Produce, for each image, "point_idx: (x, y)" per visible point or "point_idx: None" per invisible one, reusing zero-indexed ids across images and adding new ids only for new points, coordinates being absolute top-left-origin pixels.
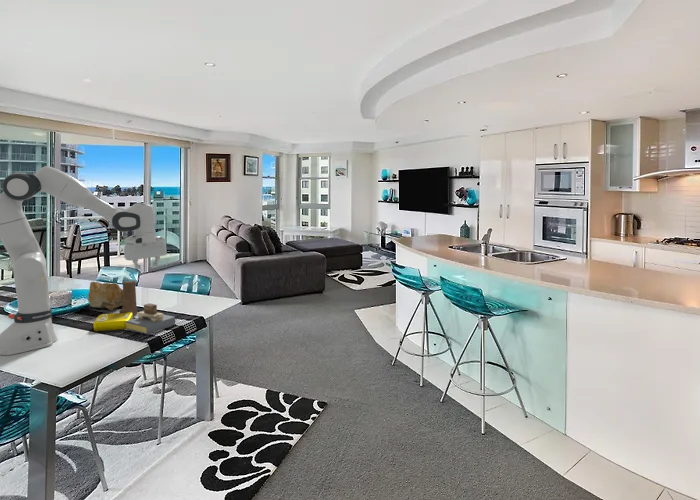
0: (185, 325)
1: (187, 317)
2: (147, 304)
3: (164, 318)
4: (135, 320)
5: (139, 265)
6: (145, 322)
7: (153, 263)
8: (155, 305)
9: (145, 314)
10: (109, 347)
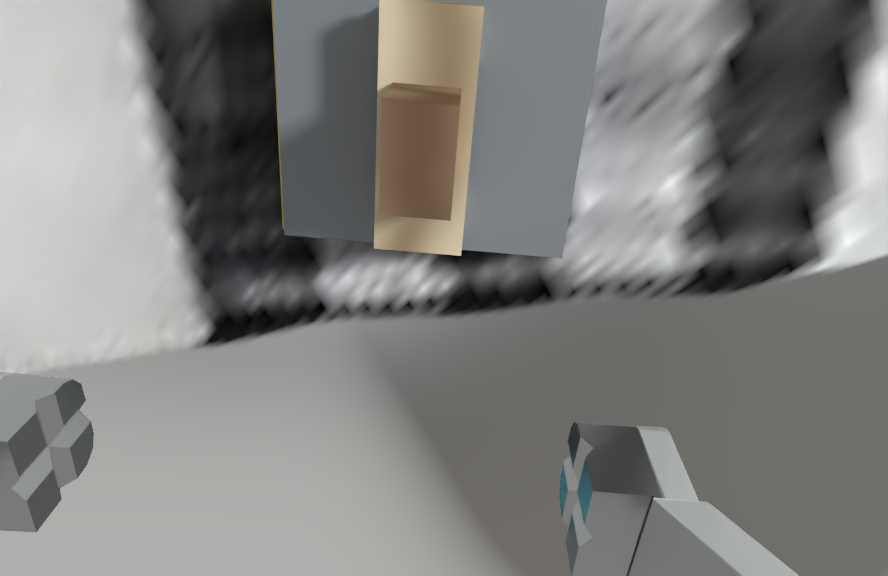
0: (572, 299)
1: (759, 175)
2: (412, 125)
3: (492, 214)
4: (328, 30)
5: (8, 524)
6: (338, 160)
7: (579, 482)
8: (436, 218)
9: (377, 120)
10: (15, 196)
